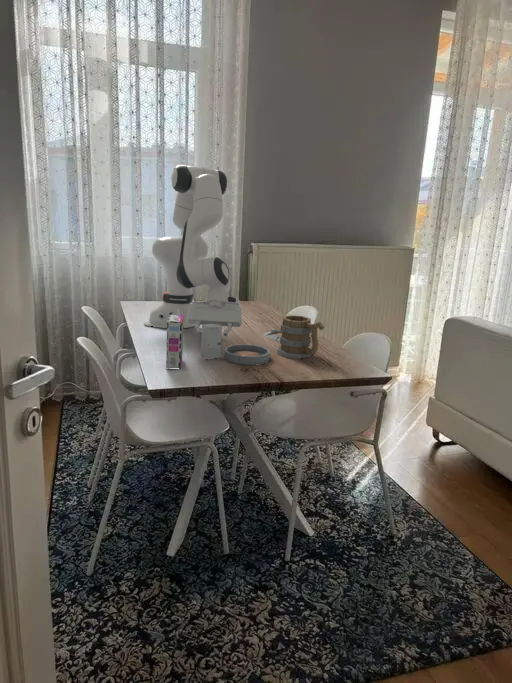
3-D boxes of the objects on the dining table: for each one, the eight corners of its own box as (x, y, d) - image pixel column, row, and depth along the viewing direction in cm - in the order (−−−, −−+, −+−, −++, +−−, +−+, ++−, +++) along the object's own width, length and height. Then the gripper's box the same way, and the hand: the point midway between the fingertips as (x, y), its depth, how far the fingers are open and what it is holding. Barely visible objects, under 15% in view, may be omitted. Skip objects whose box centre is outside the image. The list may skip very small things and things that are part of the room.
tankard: (271, 351, 199) (273, 313, 195) (296, 347, 207) (298, 311, 203) (305, 366, 184) (309, 325, 180) (331, 361, 191) (335, 321, 187)
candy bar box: (181, 370, 172) (182, 322, 167) (165, 369, 171) (166, 321, 167) (183, 359, 183) (184, 314, 178) (168, 359, 182) (169, 314, 178)
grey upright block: (206, 360, 184) (207, 327, 181) (200, 356, 187) (201, 324, 184) (221, 358, 187) (222, 325, 184) (215, 354, 191) (216, 322, 188)
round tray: (221, 363, 181) (221, 355, 180) (225, 350, 197) (226, 342, 196) (269, 366, 180) (270, 358, 180) (270, 353, 197) (270, 345, 196)
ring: (275, 344, 211) (276, 339, 210) (256, 332, 228) (256, 328, 227) (316, 341, 219) (317, 337, 218) (295, 330, 236) (295, 326, 235)
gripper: (188, 296, 191) (183, 327, 184) (243, 299, 190) (240, 331, 183) (189, 305, 196) (185, 337, 189) (243, 308, 196) (240, 340, 189)
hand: (212, 334), depth 186 cm, fingers open, 8 cm apart
